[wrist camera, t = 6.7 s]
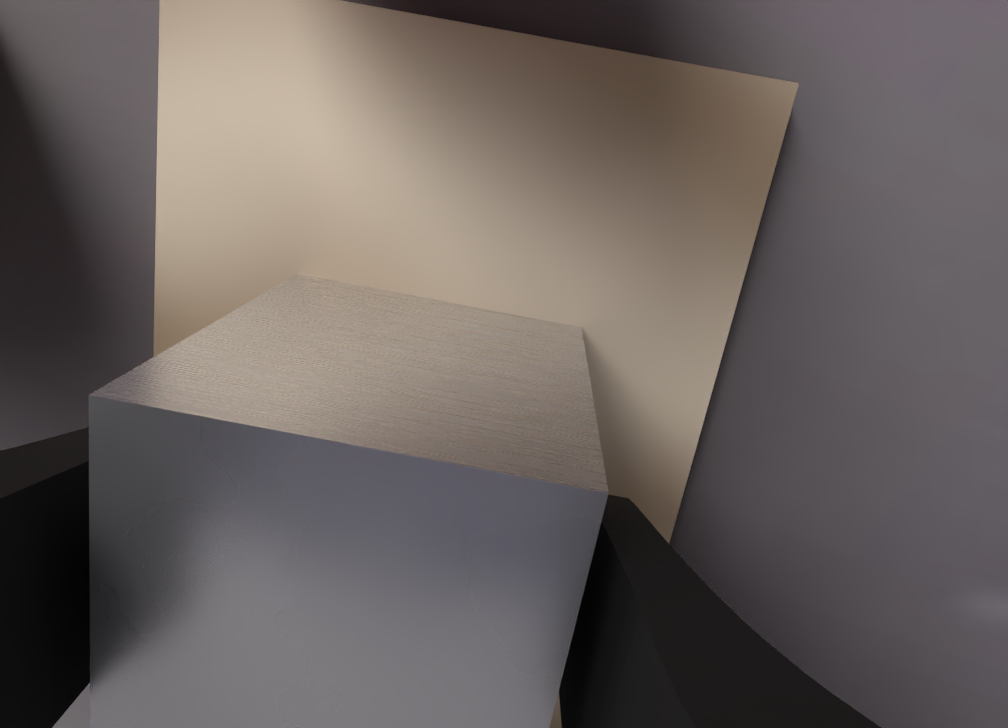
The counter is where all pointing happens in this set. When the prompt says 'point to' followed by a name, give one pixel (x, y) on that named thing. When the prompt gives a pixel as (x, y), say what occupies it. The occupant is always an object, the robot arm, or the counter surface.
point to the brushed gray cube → (342, 517)
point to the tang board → (471, 193)
